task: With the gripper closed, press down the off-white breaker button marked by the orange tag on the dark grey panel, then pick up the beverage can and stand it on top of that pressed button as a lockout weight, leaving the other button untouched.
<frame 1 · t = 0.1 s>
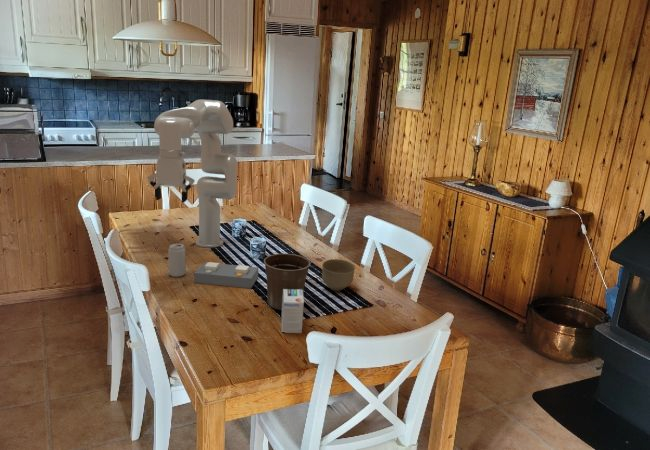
hand: (171, 200, 194), 31 cm above the table, fingers open, 9 cm apart
plant pot: (285, 304, 188), on the table
bowl: (336, 289, 204), on the table
light bulb box: (291, 326, 172), on the table
beverage can: (177, 275, 207), on the table
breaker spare: (212, 268, 205), point 4 cm above the table, slide at 0.0 cm
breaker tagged: (242, 271, 204), point 4 cm above the table, slide at 0.0 cm
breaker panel: (226, 279, 206), on the table
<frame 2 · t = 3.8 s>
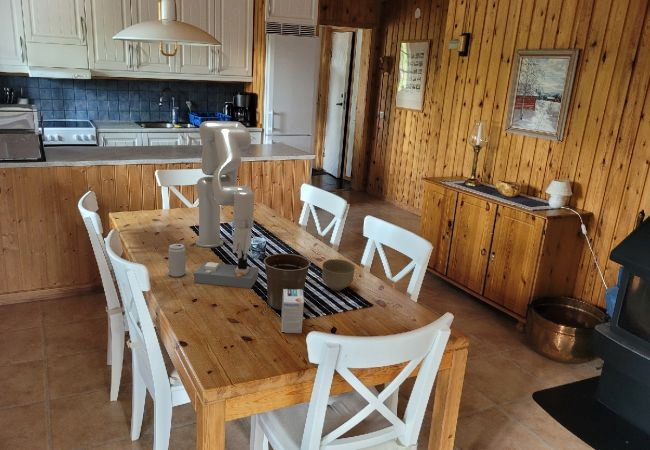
hand: (242, 268, 203), 5 cm above the table, fingers closed
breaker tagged: (242, 272, 204), point 4 cm above the table, slide at 0.3 cm, touching gripper
everything else where it was.
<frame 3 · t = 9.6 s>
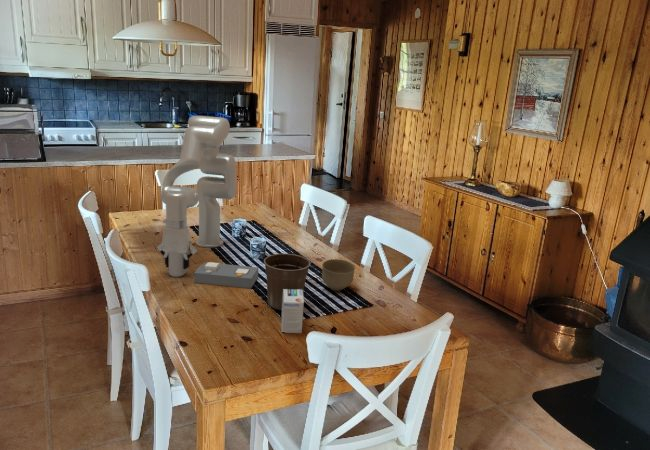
hand: (177, 267, 206), 3 cm above the table, fingers closed on beverage can, 6 cm apart
beverage can: (177, 275, 207), on the table, touching gripper
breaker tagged: (242, 274, 204), point 3 cm above the table, slide at 1.4 cm
everything else where it was.
when the fingers open (9 cm above the table, at t = 17.3 s): beverage can drops 1 cm, resting on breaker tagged.
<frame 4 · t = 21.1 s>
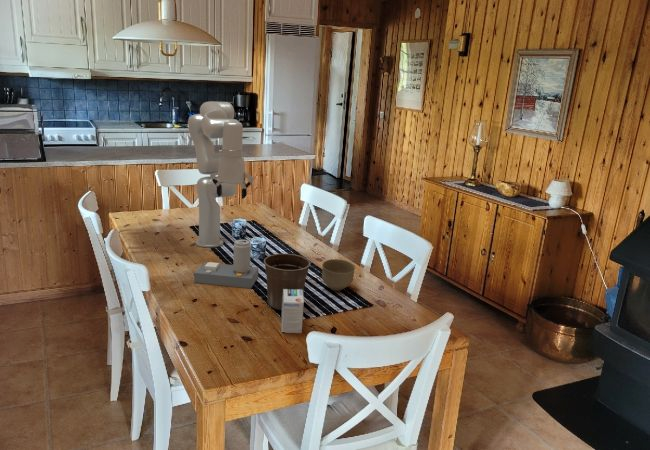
hand: (231, 196, 209), 30 cm above the table, fingers open, 9 cm apart
beverage can: (241, 271, 204), point 4 cm above the table, touching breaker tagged
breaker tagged: (242, 275, 204), point 3 cm above the table, slide at 1.5 cm, touching beverage can, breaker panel
everything else where it was.
at the end: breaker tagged slide at 1.5 cm; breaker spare slide at 0.0 cm; beverage can 0.2 cm from the target spot, point 4.0 cm above the table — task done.
